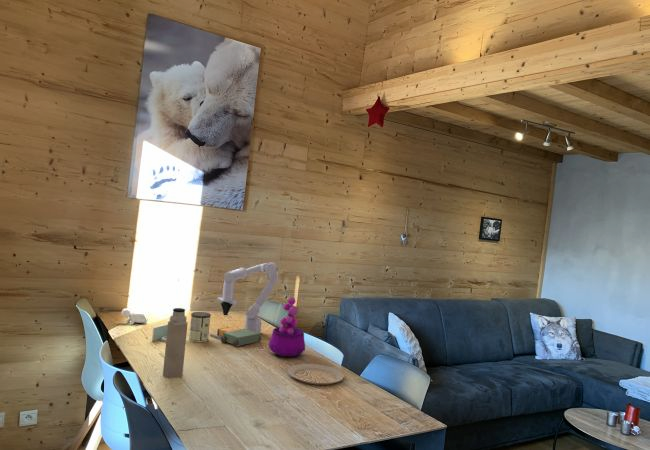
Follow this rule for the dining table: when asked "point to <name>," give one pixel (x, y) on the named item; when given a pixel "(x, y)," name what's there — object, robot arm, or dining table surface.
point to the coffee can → (199, 326)
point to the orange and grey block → (222, 330)
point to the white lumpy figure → (134, 316)
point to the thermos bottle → (175, 344)
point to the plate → (301, 367)
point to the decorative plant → (288, 334)
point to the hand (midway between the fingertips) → (225, 314)
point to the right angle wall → (160, 333)
